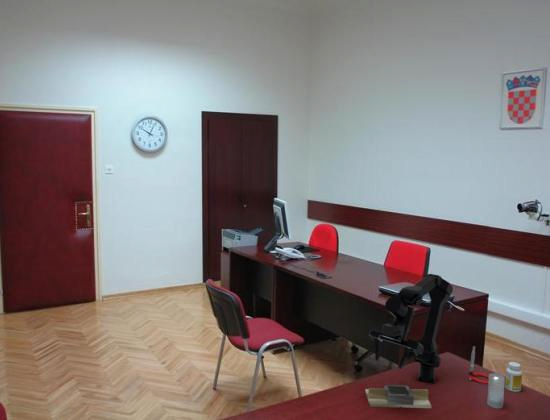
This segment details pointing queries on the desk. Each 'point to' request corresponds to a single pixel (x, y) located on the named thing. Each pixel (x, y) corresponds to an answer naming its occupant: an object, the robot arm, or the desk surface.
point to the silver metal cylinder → (495, 390)
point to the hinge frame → (398, 397)
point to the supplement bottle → (513, 377)
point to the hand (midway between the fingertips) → (388, 364)
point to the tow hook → (476, 373)
